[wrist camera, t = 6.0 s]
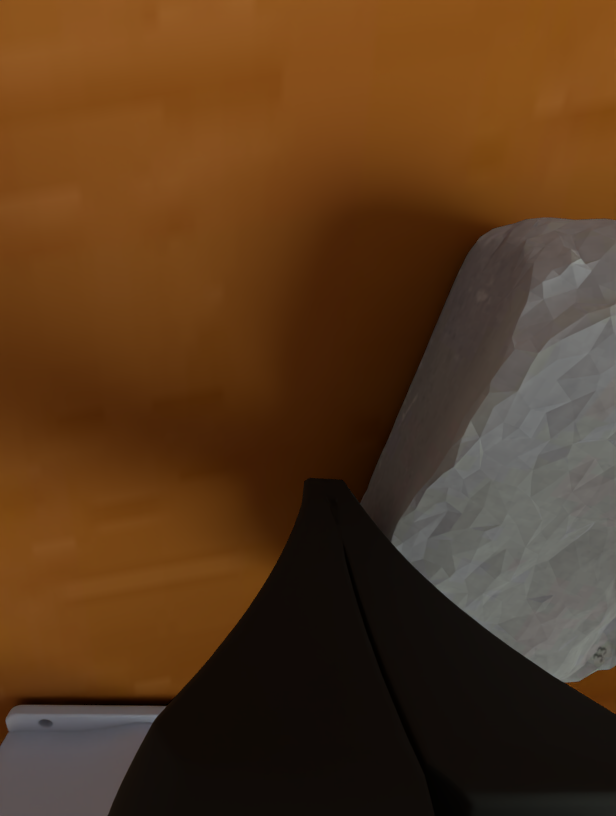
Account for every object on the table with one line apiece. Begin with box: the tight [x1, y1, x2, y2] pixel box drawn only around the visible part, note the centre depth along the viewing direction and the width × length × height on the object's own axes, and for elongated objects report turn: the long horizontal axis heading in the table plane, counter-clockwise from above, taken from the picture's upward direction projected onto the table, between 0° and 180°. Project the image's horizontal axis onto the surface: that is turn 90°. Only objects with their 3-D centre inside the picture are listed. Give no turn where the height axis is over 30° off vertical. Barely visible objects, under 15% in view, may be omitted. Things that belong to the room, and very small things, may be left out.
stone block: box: [360, 218, 616, 682], centre depth 10 cm, size 12×5×10 cm
